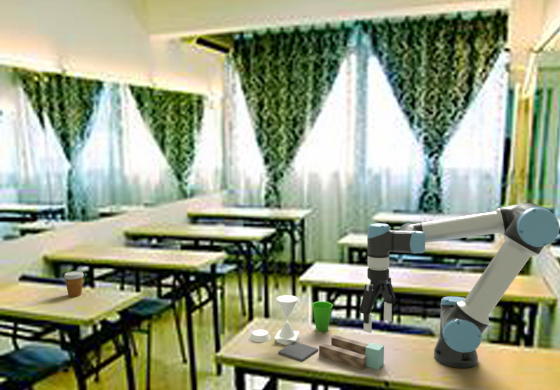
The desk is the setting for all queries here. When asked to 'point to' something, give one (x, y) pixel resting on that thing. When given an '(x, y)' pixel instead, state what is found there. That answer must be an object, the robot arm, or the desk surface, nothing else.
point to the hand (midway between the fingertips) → (378, 326)
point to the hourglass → (286, 333)
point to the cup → (322, 315)
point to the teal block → (374, 355)
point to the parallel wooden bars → (345, 351)
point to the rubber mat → (298, 351)
